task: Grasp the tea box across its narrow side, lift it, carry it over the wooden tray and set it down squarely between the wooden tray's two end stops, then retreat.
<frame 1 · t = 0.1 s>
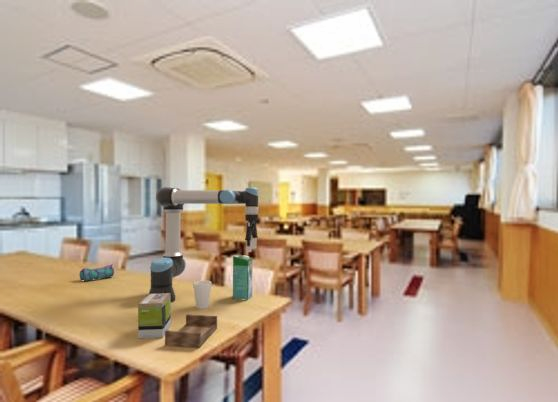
hand: (251, 250, 194), 28 cm above the table, fingers open, 13 cm apart
tea box: (155, 332, 143), on the table
foam cup: (202, 307, 177), on the table
pencil case: (97, 279, 240), on the table
wooden tray: (192, 336, 138), on the table
milk carton: (242, 298, 195), on the table
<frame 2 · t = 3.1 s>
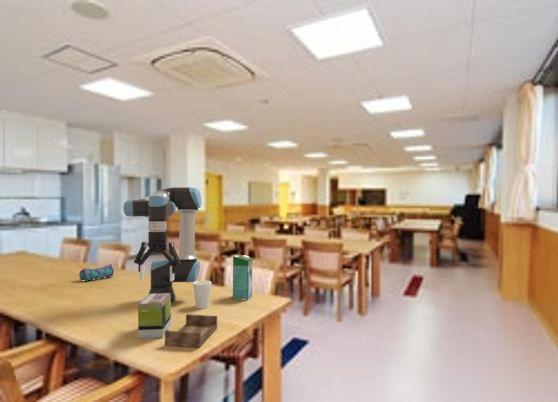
hand: (157, 280, 143), 22 cm above the table, fingers open, 13 cm apart
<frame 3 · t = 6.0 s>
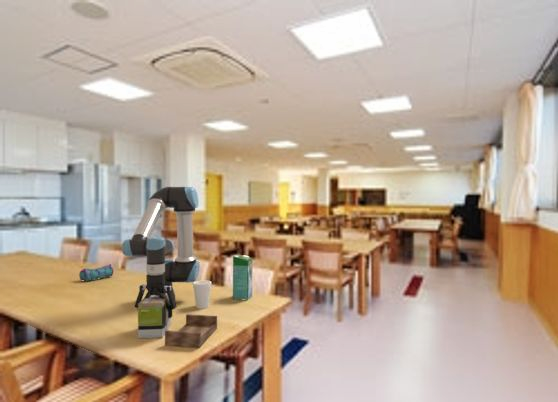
hand: (155, 324, 143), 3 cm above the table, fingers closed on tea box, 11 cm apart
tea box: (155, 332, 143), on the table, touching gripper
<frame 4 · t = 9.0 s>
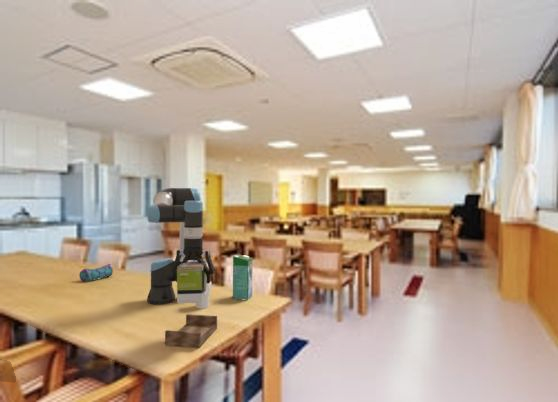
hand: (193, 290, 138), 19 cm above the table, fingers closed on tea box, 11 cm apart
tea box: (192, 298, 138), point 16 cm above the table, touching gripper
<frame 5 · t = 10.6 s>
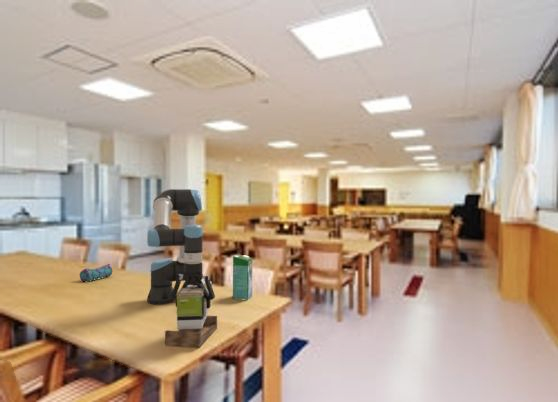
hand: (192, 315, 138), 9 cm above the table, fingers closed on tea box, 11 cm apart
tea box: (192, 323, 138), point 5 cm above the table, touching gripper
when the fingers open (7 cm above the table, at t = 12.1 s): tea box drops 2 cm, resting on wooden tray.
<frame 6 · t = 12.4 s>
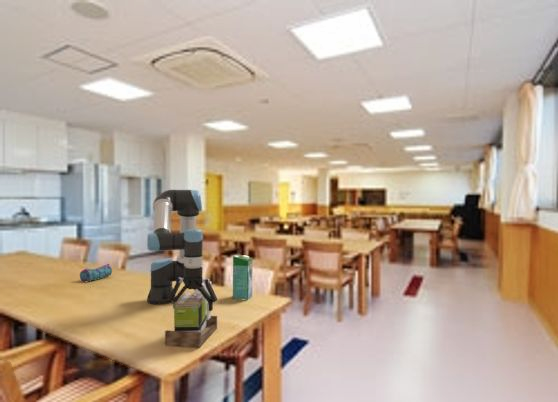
hand: (192, 317, 138), 8 cm above the table, fingers open, 13 cm apart
tea box: (191, 333, 138), point 1 cm above the table, touching wooden tray
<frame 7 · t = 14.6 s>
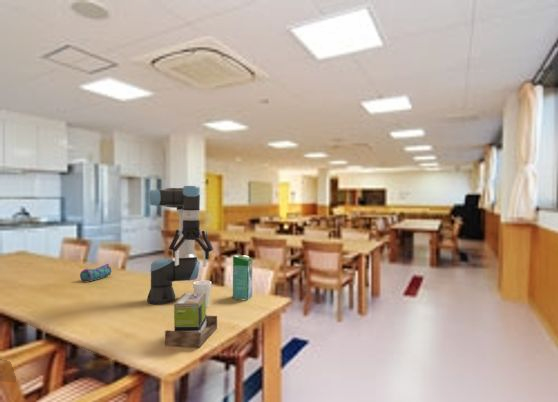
hand: (190, 265, 152), 27 cm above the table, fingers open, 13 cm apart
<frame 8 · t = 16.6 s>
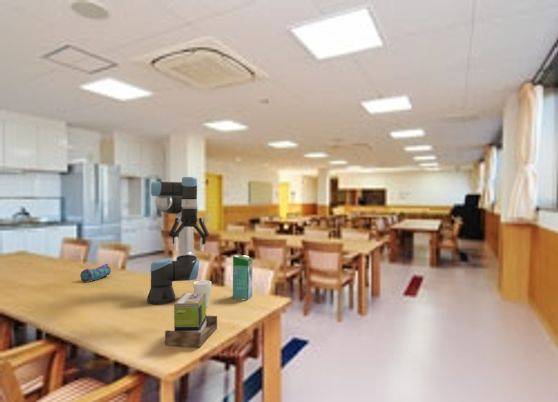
hand: (189, 250, 165), 32 cm above the table, fingers open, 13 cm apart
at the end: tea box inside the target area on the wooden tray (0.7 cm from its centre), point 1.3 cm above the wooden tray's base; tea box tilted 0°; the gripper is holding nothing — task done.
